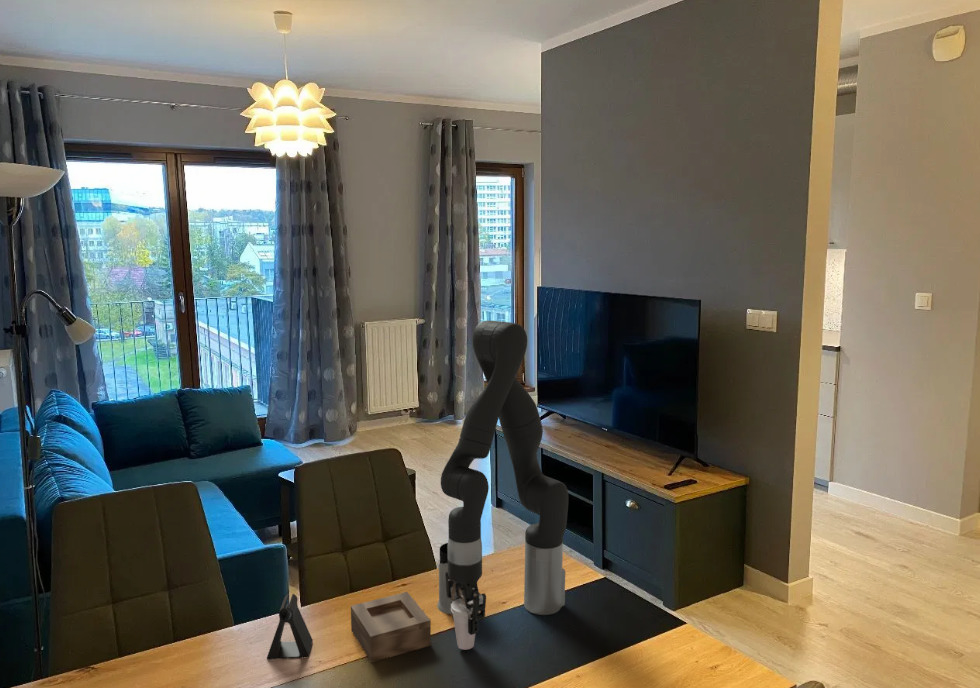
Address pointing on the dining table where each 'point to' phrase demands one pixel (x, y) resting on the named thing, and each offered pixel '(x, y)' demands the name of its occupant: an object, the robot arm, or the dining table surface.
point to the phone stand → (299, 631)
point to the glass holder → (443, 581)
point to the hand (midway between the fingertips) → (465, 625)
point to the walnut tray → (390, 626)
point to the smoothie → (462, 625)
